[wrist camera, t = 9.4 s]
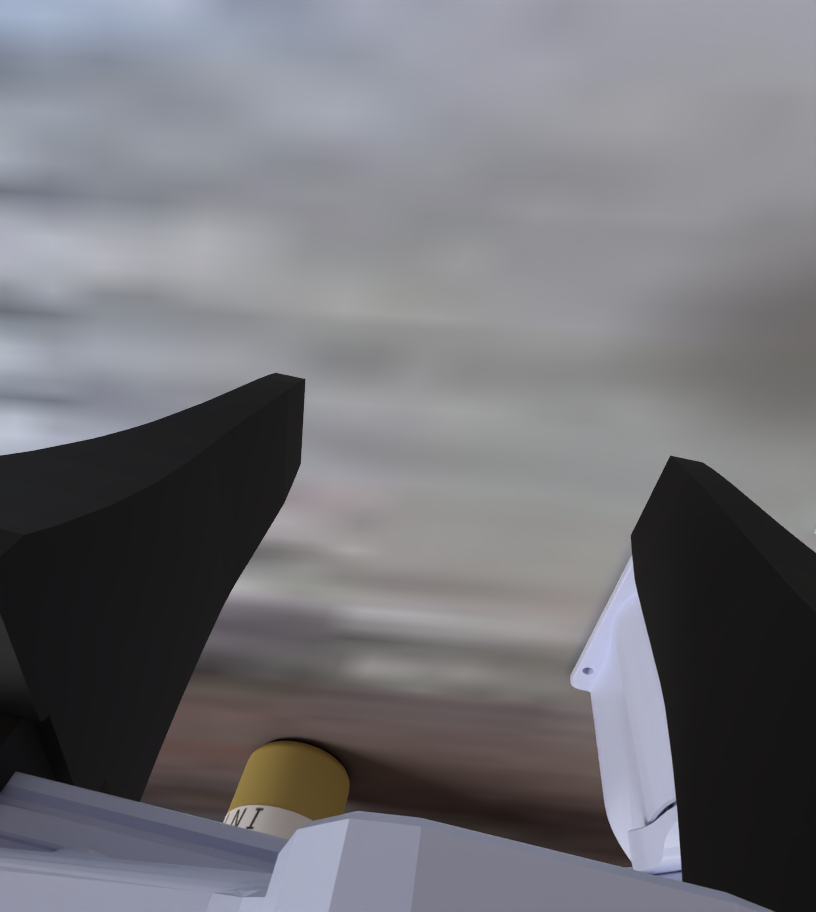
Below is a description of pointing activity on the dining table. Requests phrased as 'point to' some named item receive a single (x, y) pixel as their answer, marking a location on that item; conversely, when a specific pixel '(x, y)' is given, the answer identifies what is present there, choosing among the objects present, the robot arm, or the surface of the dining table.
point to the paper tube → (288, 789)
